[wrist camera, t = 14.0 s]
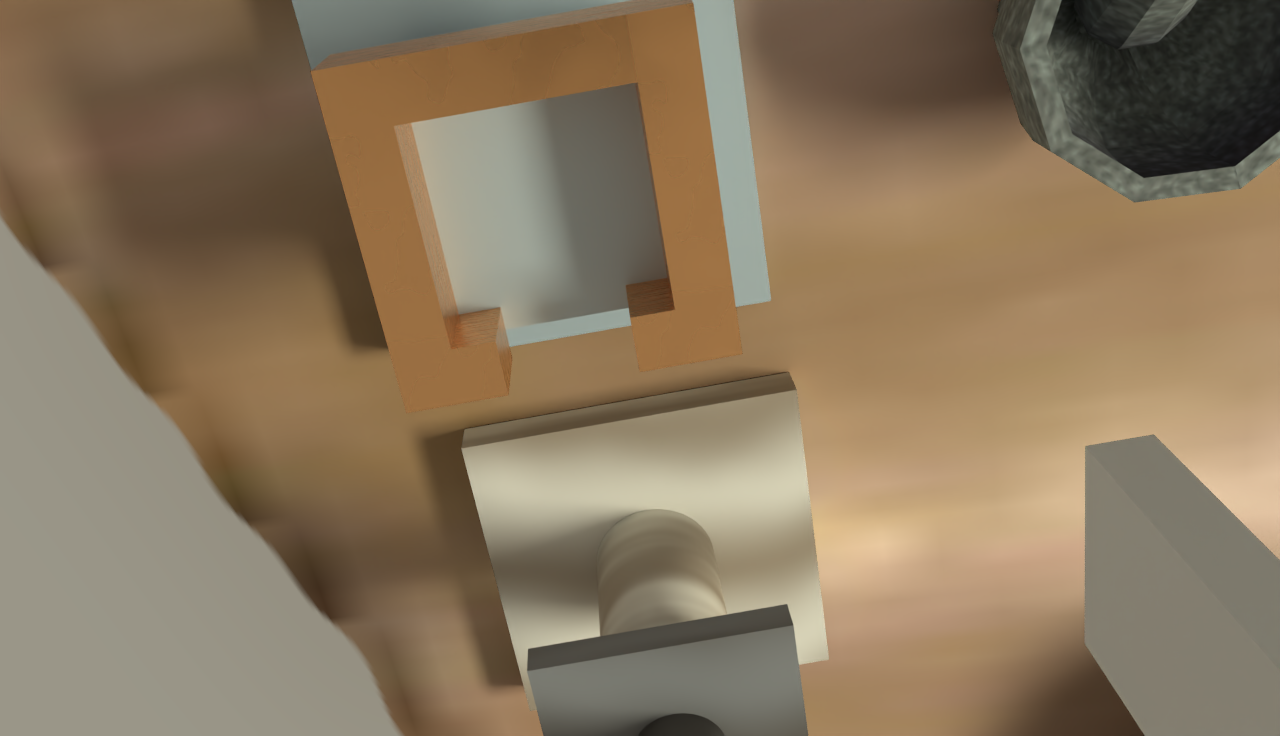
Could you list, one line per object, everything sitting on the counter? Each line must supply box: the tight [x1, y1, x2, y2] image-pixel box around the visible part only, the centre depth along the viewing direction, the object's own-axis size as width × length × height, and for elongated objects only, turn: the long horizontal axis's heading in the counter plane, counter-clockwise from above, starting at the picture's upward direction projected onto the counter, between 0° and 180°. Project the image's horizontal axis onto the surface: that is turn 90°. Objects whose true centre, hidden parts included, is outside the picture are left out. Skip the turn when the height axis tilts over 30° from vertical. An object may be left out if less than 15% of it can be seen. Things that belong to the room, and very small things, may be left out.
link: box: [310, 0, 742, 413], centre depth 30 cm, size 9×9×2 cm
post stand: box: [461, 372, 829, 736], centre depth 36 cm, size 12×12×18 cm
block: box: [292, 0, 771, 347], centre depth 34 cm, size 13×13×7 cm
